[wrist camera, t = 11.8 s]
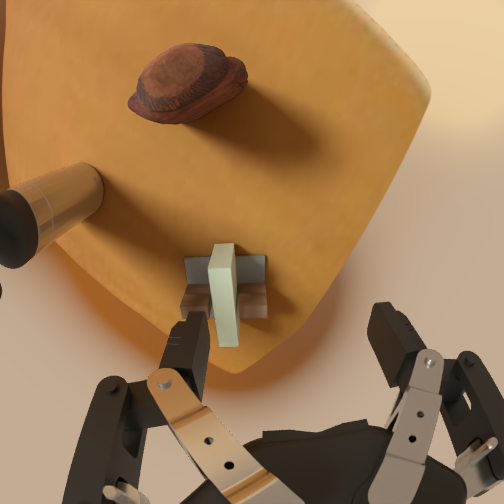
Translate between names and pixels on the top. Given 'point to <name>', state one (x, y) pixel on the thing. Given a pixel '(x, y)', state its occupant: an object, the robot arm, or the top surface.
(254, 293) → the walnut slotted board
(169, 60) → the wooden figurine
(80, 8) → the top surface
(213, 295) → the pale green upright slab
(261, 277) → the charcoal base board
